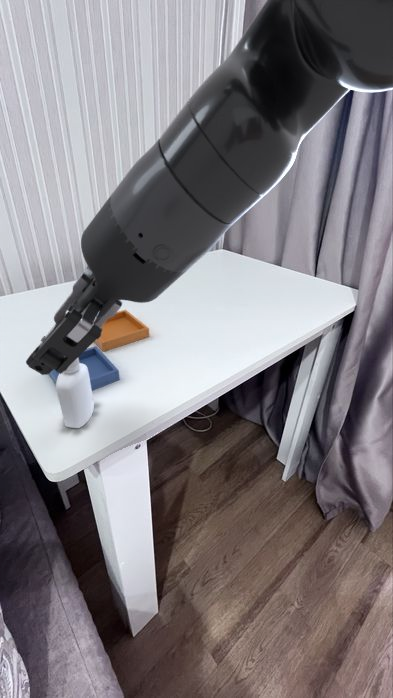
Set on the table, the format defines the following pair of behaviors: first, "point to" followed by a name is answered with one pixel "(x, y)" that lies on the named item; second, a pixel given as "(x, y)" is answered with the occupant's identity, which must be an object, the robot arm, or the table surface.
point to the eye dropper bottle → (75, 395)
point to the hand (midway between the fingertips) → (56, 336)
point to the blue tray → (95, 368)
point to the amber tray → (121, 331)
